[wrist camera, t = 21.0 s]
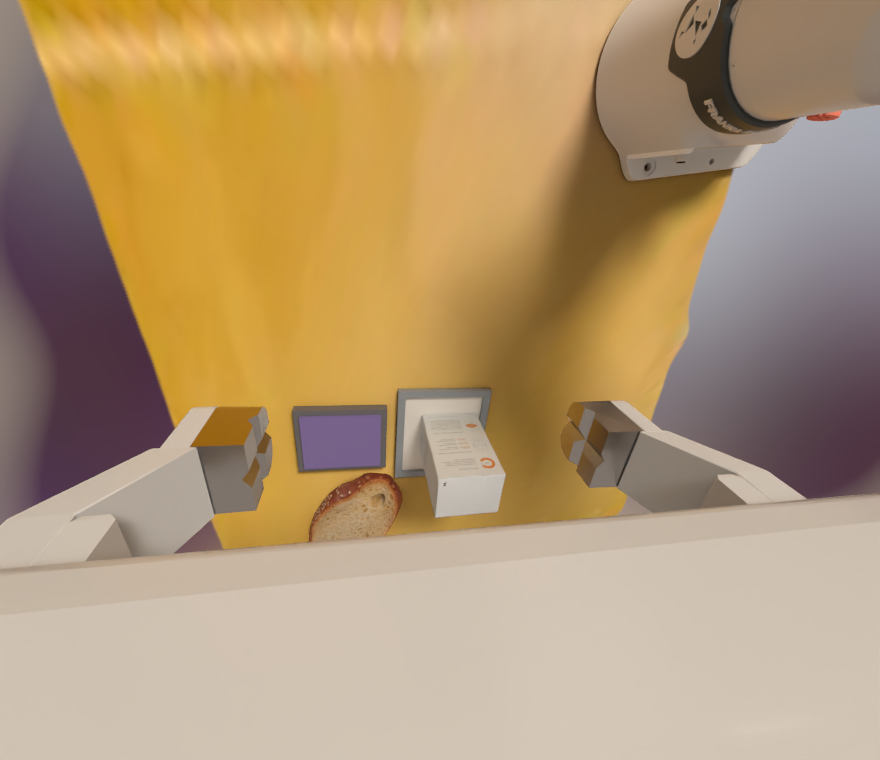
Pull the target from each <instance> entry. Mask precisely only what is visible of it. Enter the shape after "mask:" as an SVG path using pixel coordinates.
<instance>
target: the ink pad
mask: <svg viewBox="0 0 880 760" xmlns="http://www.w3.org/2000/svg"><path fill="white" fill-rule="evenodd" d="M292 413H293V422H294V430H295V439H296V448H297V457H298V466H299V472H302V471H322V470H342V469H362V468H382V467H386V430H387V405H351V406H294V408H293V411H292Z"/></svg>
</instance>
